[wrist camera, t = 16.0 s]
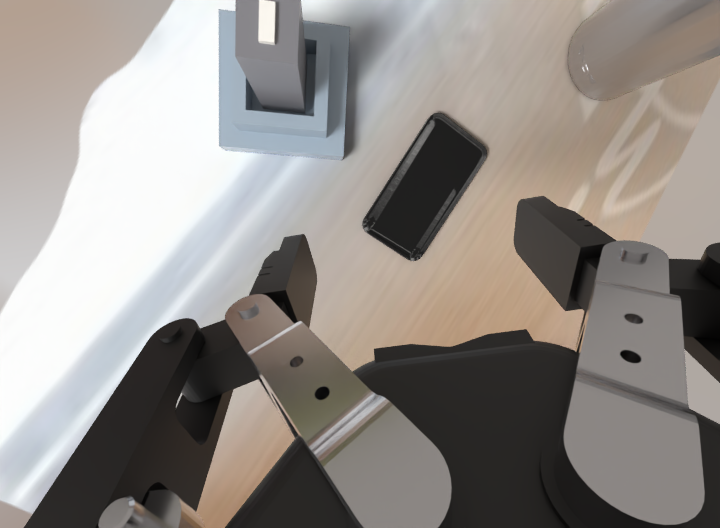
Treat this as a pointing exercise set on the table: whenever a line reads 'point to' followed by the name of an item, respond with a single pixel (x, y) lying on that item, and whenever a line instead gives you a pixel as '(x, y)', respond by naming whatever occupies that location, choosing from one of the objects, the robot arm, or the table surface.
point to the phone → (425, 187)
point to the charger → (273, 52)
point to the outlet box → (284, 128)
